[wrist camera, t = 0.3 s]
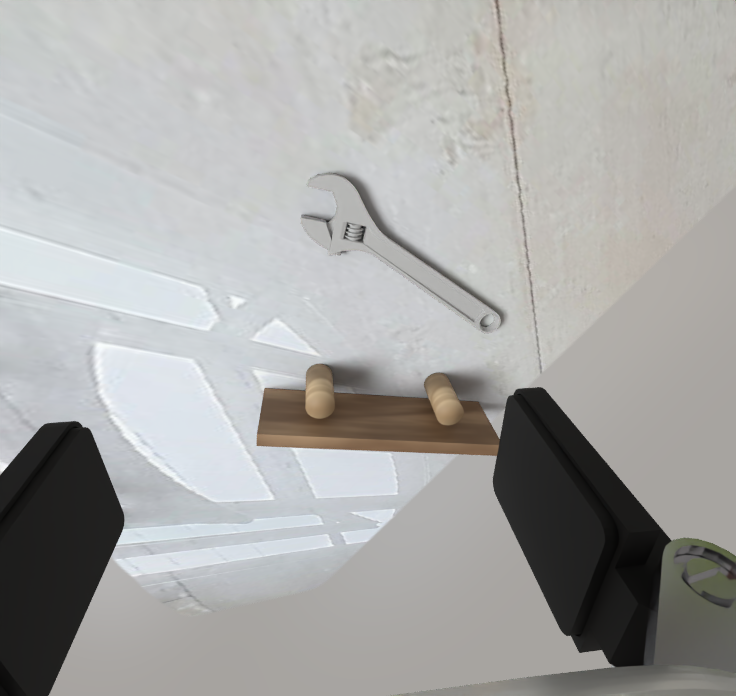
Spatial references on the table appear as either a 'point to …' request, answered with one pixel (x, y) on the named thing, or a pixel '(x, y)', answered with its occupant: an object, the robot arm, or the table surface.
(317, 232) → the adjustable wrench
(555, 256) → the table surface
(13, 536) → the robot arm
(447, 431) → the tool rack
